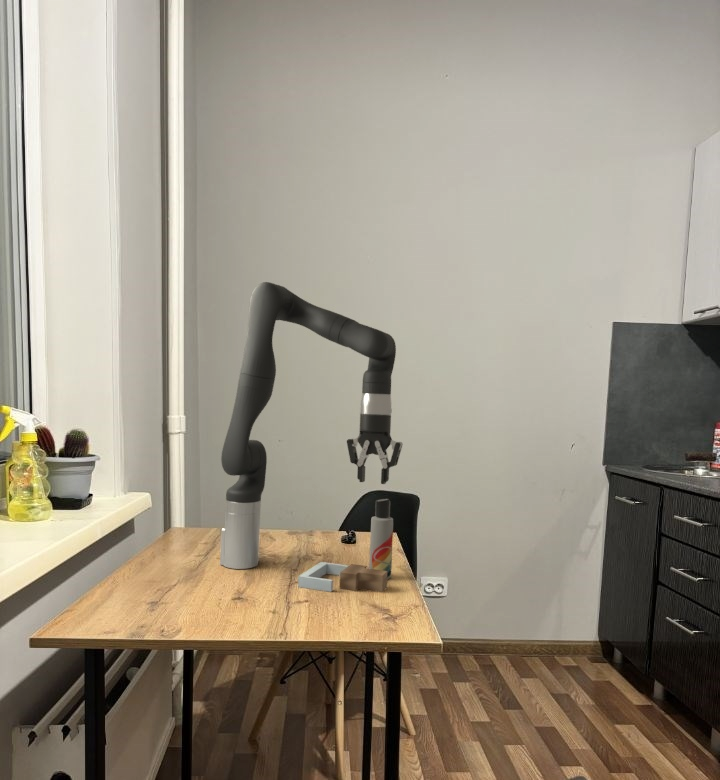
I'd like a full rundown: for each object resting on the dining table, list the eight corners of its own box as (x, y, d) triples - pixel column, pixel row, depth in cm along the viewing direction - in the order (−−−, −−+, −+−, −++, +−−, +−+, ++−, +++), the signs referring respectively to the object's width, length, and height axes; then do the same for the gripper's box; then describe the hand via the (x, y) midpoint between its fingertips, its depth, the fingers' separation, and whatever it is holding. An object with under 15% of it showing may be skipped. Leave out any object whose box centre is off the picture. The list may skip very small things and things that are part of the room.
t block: (339, 589, 138) (340, 572, 138) (350, 579, 145) (351, 563, 145) (379, 595, 135) (380, 577, 135) (389, 585, 142) (389, 568, 142)
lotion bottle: (389, 581, 145) (392, 501, 146) (367, 578, 146) (370, 499, 147) (392, 574, 151) (395, 497, 151) (371, 572, 152) (374, 496, 152)
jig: (297, 586, 138) (298, 576, 138) (320, 571, 151) (321, 561, 151) (330, 591, 135) (331, 581, 135) (351, 575, 148) (351, 565, 149)
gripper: (342, 411, 139) (339, 482, 139) (400, 414, 135) (397, 487, 134) (353, 411, 146) (350, 478, 146) (408, 414, 142) (405, 483, 141)
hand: (372, 482), depth 140 cm, fingers open, 5 cm apart
